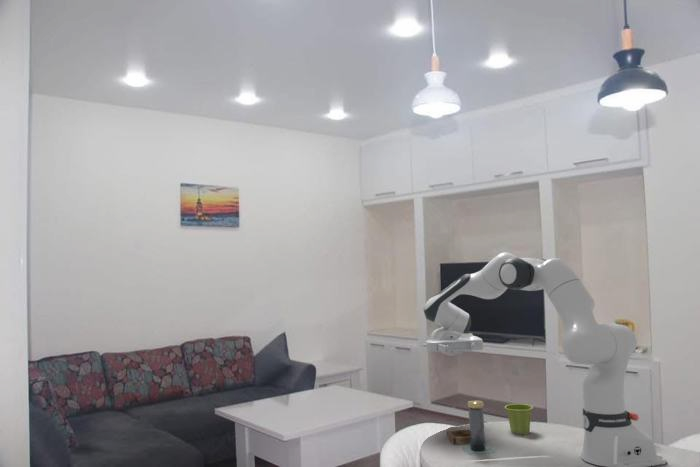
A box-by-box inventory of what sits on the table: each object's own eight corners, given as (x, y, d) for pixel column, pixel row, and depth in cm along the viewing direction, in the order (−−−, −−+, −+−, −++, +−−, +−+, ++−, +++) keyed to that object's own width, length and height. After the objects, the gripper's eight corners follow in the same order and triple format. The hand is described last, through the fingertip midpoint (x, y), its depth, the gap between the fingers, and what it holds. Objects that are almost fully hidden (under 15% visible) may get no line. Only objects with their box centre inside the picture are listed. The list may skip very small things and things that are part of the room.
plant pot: (500, 432, 200) (498, 407, 200) (517, 427, 205) (515, 402, 206) (523, 438, 192) (521, 411, 193) (539, 432, 198) (538, 406, 199)
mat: (487, 445, 185) (487, 444, 185) (496, 454, 176) (496, 452, 176) (460, 447, 184) (460, 445, 184) (468, 456, 175) (468, 454, 176)
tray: (476, 436, 196) (475, 428, 196) (484, 444, 187) (483, 436, 187) (447, 438, 195) (446, 430, 195) (453, 446, 186) (453, 438, 186)
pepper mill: (483, 446, 183) (480, 400, 184) (487, 451, 178) (485, 403, 179) (468, 447, 183) (466, 400, 184) (472, 452, 178) (470, 404, 179)
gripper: (421, 335, 211) (429, 340, 198) (475, 333, 213) (487, 337, 199) (422, 352, 211) (430, 358, 197) (476, 350, 213) (488, 355, 199)
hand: (459, 347), depth 198 cm, fingers open, 8 cm apart
